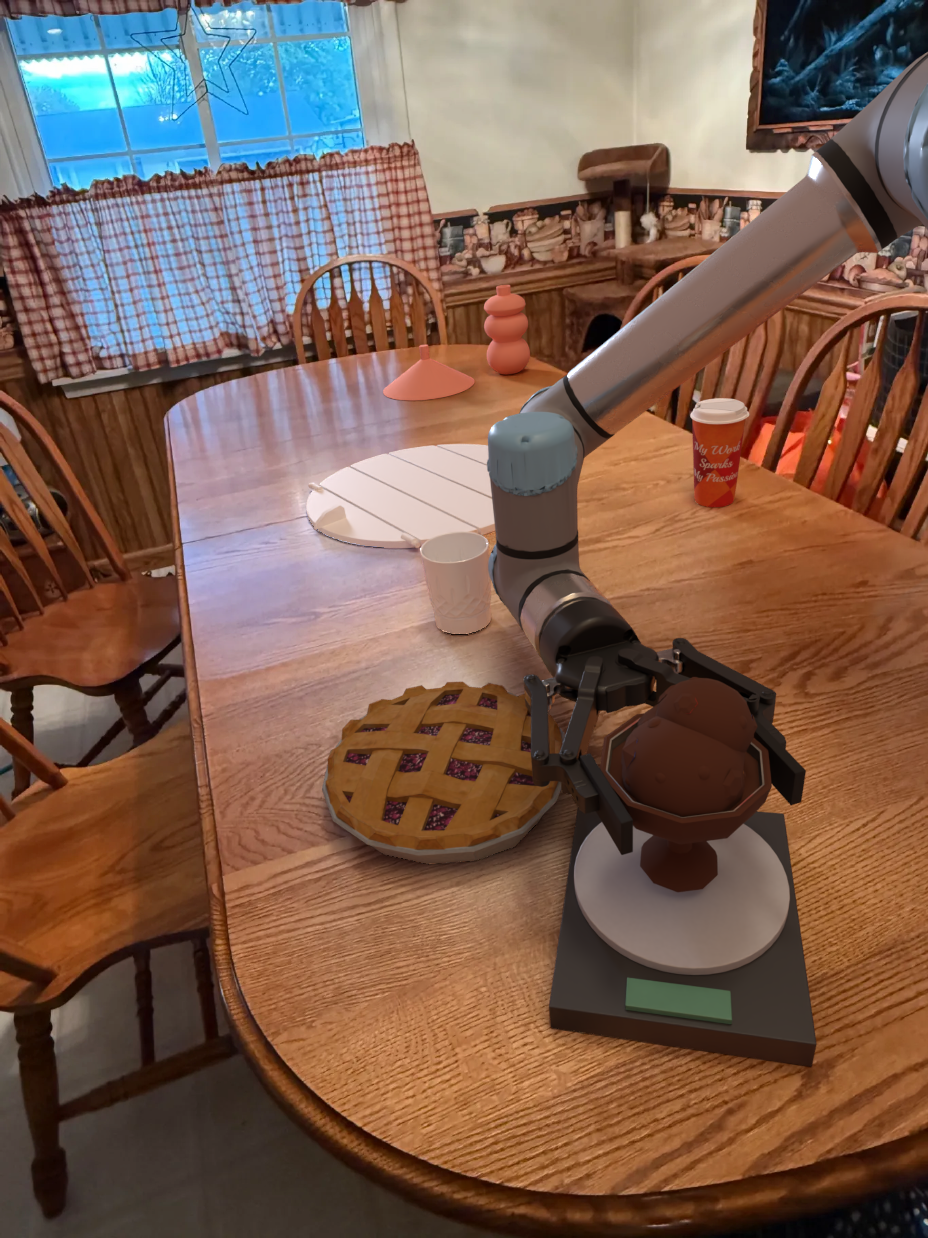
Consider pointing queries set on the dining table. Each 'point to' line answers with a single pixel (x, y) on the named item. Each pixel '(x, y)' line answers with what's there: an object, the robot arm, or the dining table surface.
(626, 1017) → the scale
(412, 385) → the ceramic vessels
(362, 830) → the pie
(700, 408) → the paper cup
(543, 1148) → the dining table surface
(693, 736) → the ice cream bowl
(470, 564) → the white cup
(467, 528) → the lazy susan
